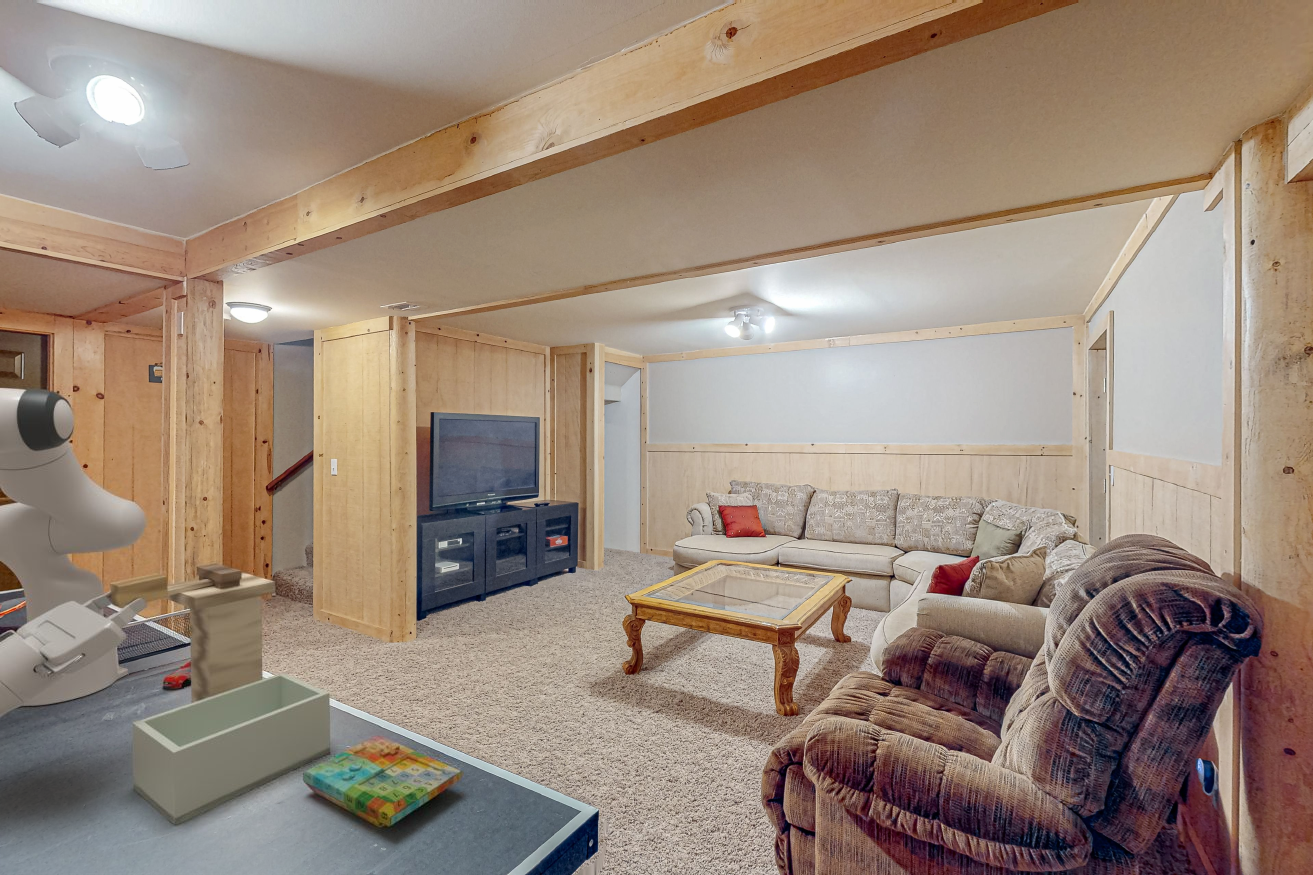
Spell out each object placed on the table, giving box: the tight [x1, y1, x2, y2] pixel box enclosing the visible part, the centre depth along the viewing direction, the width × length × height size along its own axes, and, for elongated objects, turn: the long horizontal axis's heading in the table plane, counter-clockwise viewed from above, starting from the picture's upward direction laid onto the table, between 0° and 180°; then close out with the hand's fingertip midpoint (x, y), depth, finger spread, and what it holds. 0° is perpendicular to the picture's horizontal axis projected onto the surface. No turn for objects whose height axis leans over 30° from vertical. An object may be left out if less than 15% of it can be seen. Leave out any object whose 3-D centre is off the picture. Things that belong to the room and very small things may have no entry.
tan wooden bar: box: [109, 572, 215, 610], centre depth 100 cm, size 4×17×4 cm, turn 148°
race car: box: [162, 660, 191, 690], centre depth 127 cm, size 13×5×4 cm, turn 164°
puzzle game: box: [302, 734, 463, 829], centre depth 86 cm, size 12×5×20 cm
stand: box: [165, 563, 276, 703], centre depth 105 cm, size 14×12×29 cm
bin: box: [132, 672, 331, 826], centre depth 93 cm, size 15×21×10 cm
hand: (132, 595), depth 95 cm, fingers open, 8 cm apart
